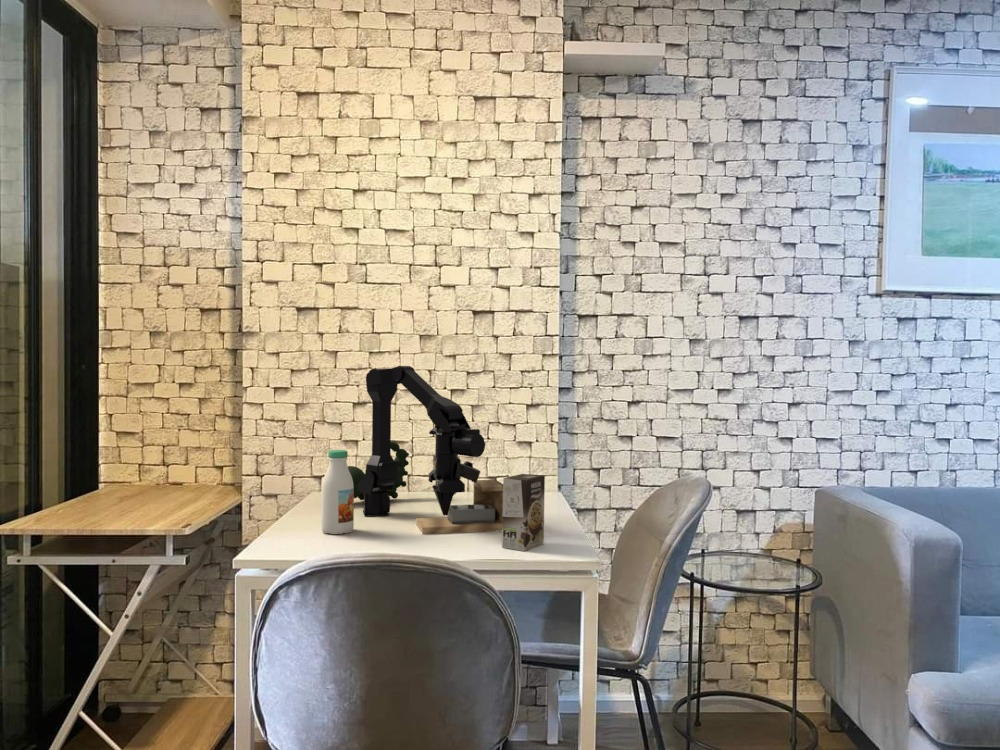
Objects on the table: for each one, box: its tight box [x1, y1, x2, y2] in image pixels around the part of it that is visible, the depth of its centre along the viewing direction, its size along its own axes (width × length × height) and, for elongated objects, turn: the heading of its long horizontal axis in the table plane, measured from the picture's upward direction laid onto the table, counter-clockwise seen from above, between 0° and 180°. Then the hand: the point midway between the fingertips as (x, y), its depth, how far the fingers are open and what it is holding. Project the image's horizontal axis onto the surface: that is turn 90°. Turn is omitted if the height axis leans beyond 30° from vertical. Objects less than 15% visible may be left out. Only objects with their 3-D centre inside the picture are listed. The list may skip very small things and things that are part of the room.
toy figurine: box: [347, 441, 410, 501], centre depth 231 cm, size 9×19×25 cm
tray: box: [446, 504, 495, 524], centre depth 200 cm, size 11×6×4 cm, turn 104°
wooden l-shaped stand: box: [415, 479, 503, 535], centre depth 200 cm, size 21×11×11 cm, turn 104°
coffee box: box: [501, 473, 546, 552], centre depth 181 cm, size 9×6×16 cm
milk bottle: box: [321, 449, 355, 535], centre depth 193 cm, size 8×8×20 cm
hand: (445, 515), depth 199 cm, fingers closed, pressing on tray
